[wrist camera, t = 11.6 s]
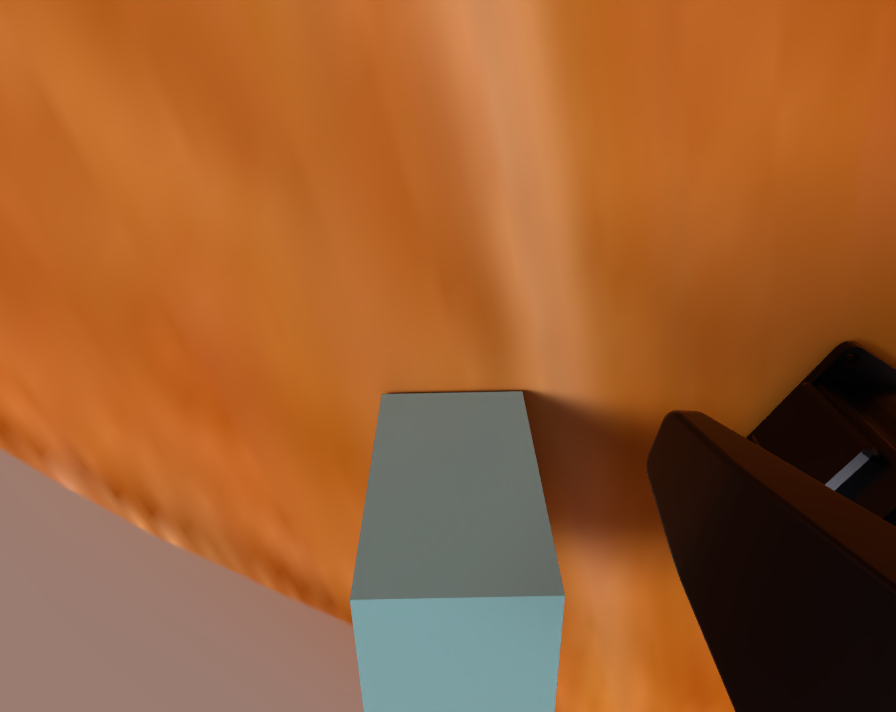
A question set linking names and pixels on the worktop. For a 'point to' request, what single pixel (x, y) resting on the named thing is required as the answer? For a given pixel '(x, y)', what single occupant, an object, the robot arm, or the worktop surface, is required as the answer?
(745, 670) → the robot arm
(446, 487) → the pale teal block
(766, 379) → the worktop surface
